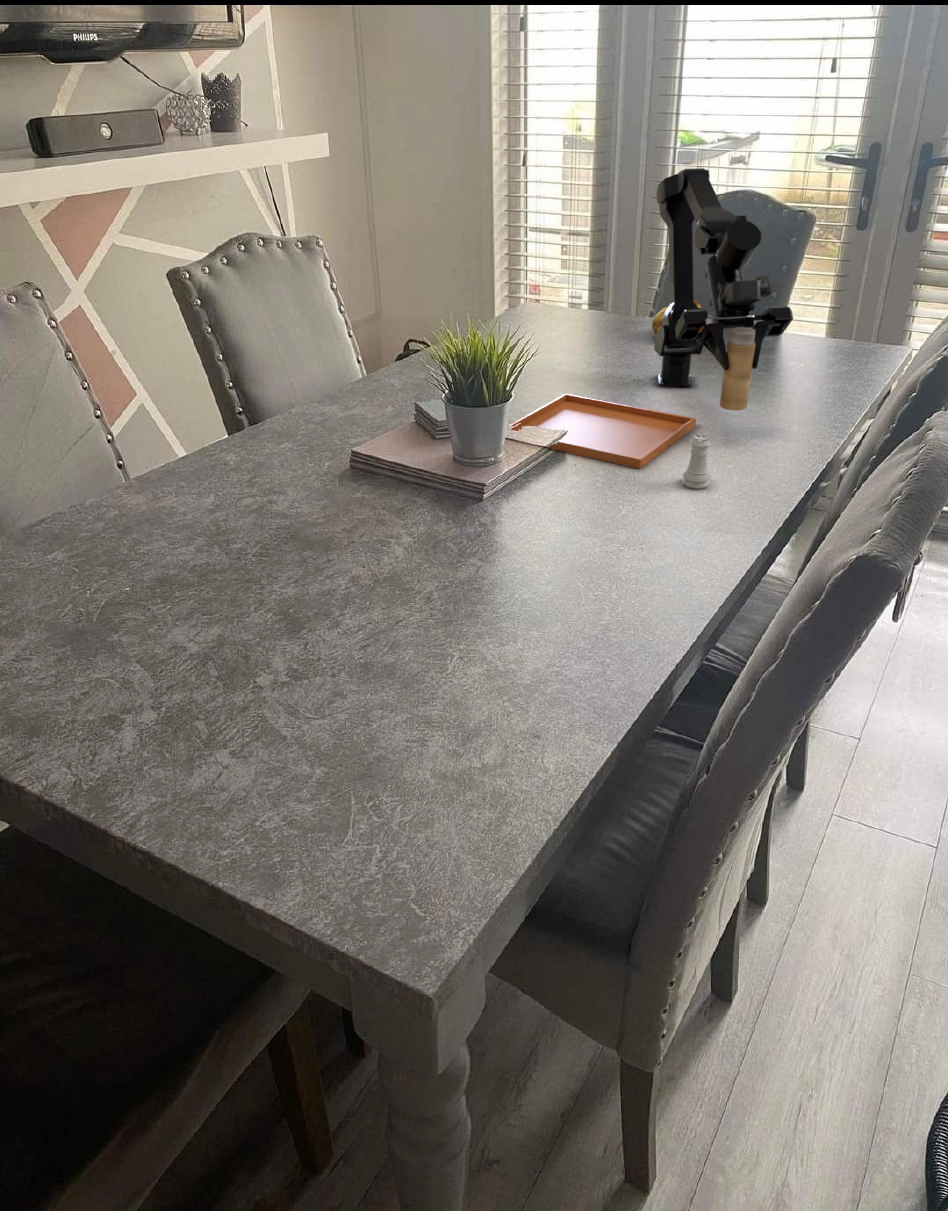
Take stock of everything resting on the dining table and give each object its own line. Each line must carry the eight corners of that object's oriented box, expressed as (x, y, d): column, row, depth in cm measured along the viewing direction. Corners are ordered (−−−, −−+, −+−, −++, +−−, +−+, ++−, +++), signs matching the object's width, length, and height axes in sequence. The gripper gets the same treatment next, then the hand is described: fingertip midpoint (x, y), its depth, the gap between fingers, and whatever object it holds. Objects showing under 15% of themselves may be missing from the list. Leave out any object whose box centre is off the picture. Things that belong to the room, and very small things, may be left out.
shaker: (720, 400, 168) (729, 325, 162) (747, 402, 167) (758, 327, 160) (718, 409, 165) (727, 333, 158) (746, 411, 163) (756, 334, 157)
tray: (564, 401, 189) (565, 393, 188) (695, 426, 176) (696, 418, 175) (501, 437, 172) (501, 429, 172) (640, 468, 159) (640, 459, 158)
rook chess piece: (708, 478, 155) (713, 431, 151) (711, 490, 151) (717, 442, 147) (680, 478, 156) (685, 431, 151) (682, 489, 152) (687, 441, 148)
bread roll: (677, 346, 219) (681, 310, 215) (639, 340, 224) (642, 305, 220) (701, 333, 228) (705, 299, 224) (664, 327, 233) (667, 293, 229)
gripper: (687, 260, 156) (701, 346, 152) (798, 255, 158) (814, 341, 154) (669, 297, 167) (681, 379, 163) (773, 293, 169) (787, 374, 165)
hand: (741, 368), depth 161 cm, fingers closed on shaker, 4 cm apart
